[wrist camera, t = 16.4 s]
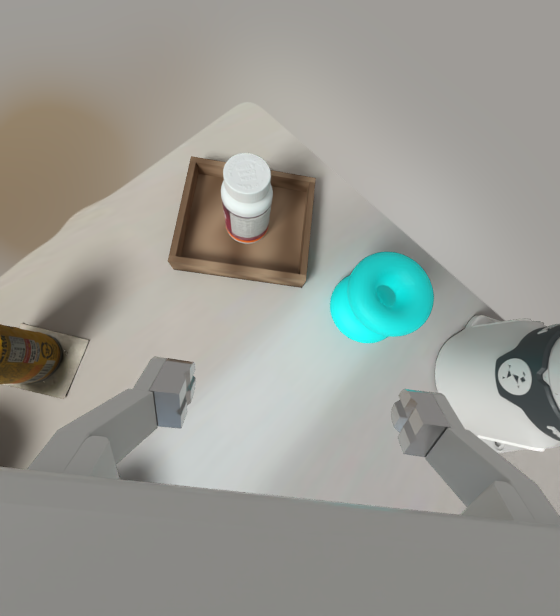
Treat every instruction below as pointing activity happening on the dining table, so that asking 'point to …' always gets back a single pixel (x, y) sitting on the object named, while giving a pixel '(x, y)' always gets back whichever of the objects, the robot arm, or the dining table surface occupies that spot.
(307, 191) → the tray
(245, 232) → the pill bottle
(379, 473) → the dining table surface
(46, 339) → the condiment
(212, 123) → the dining table surface
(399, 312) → the donuts
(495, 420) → the robot arm
